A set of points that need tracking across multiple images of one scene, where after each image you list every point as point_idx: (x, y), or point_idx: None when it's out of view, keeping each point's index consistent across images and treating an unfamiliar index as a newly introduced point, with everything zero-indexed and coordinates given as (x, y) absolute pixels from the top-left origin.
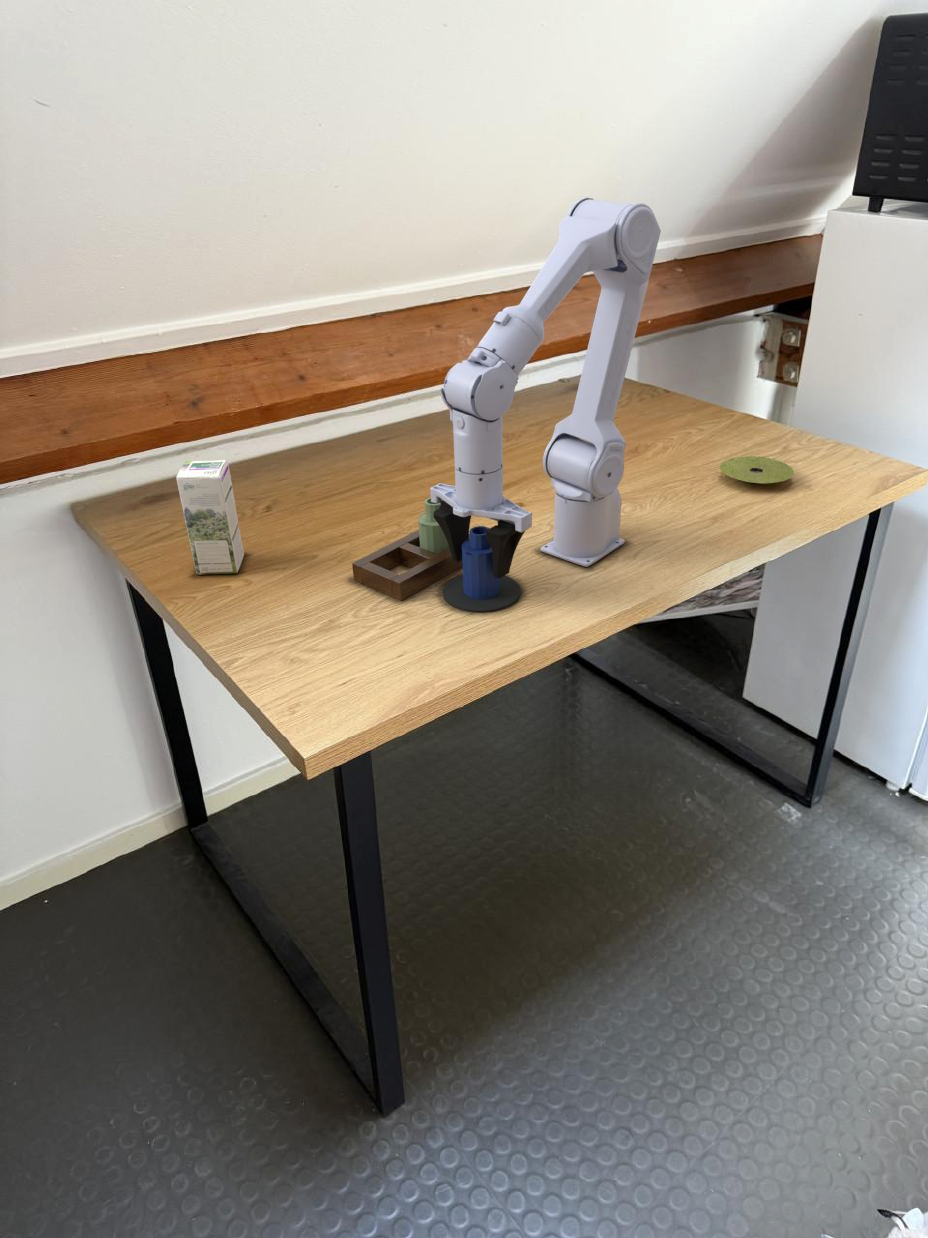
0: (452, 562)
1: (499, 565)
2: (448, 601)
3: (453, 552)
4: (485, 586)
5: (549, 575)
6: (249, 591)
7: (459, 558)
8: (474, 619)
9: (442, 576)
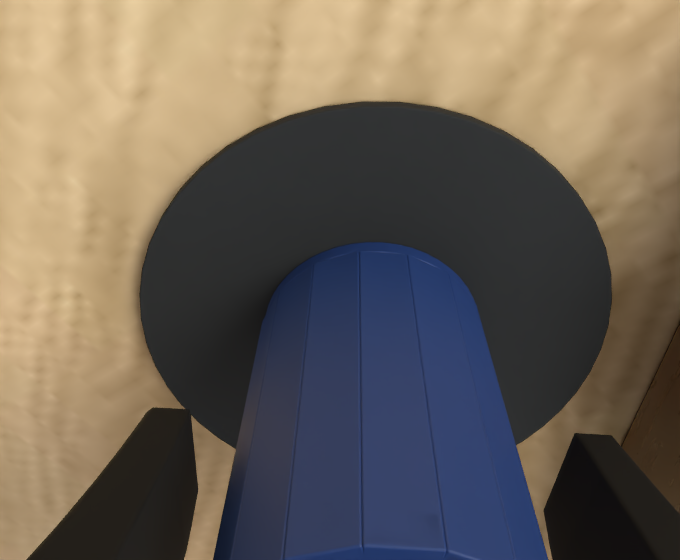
0: (665, 452)
1: (76, 505)
2: (481, 127)
3: (635, 499)
4: (275, 331)
5: (208, 552)
6: None
7: (575, 471)
8: (193, 52)
9: (674, 343)
